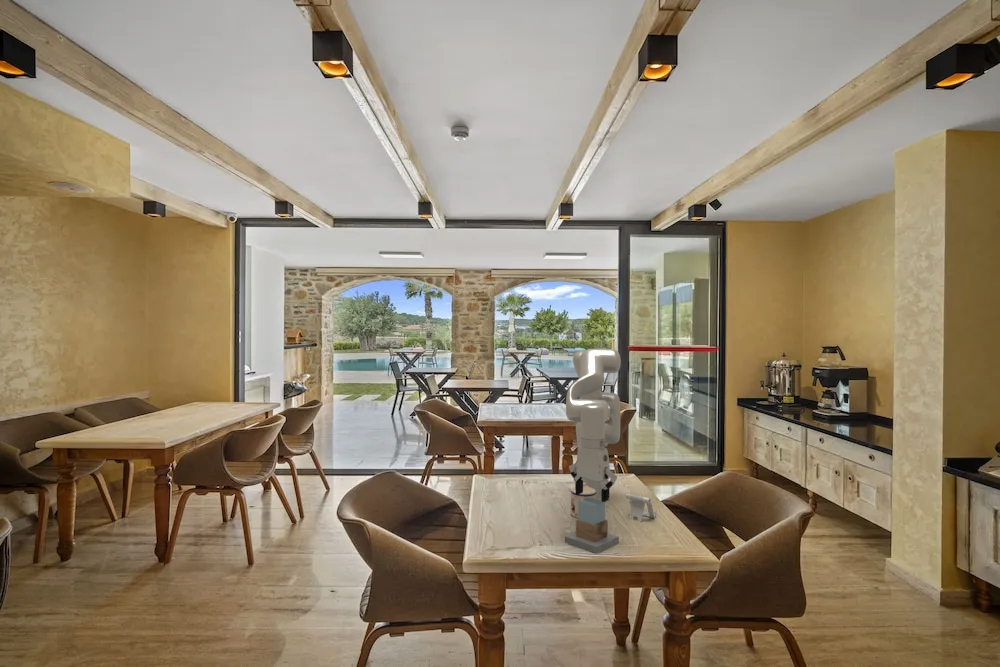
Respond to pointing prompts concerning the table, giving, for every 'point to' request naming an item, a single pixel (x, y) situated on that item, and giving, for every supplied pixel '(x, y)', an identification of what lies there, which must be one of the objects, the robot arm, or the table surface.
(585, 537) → the walnut block
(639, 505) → the portable electronic device stand
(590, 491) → the teacup with lid
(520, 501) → the table surface
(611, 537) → the slate base
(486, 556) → the table surface
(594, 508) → the cube
